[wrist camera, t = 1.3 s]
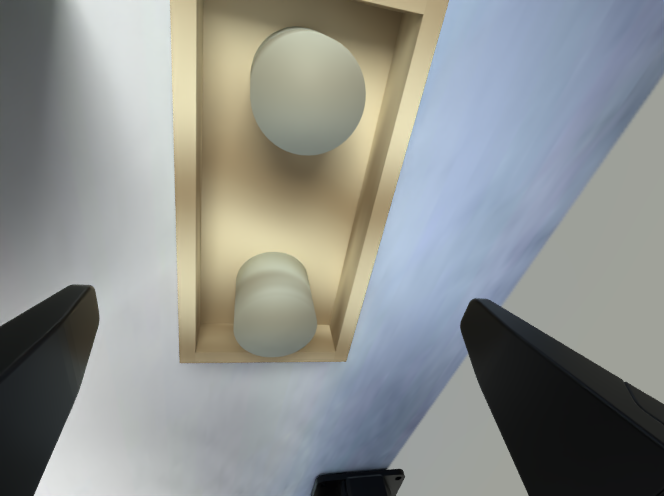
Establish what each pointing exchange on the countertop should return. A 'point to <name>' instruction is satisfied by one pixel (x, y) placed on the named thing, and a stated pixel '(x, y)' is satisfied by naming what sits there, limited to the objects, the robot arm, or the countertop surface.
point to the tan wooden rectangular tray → (288, 165)
